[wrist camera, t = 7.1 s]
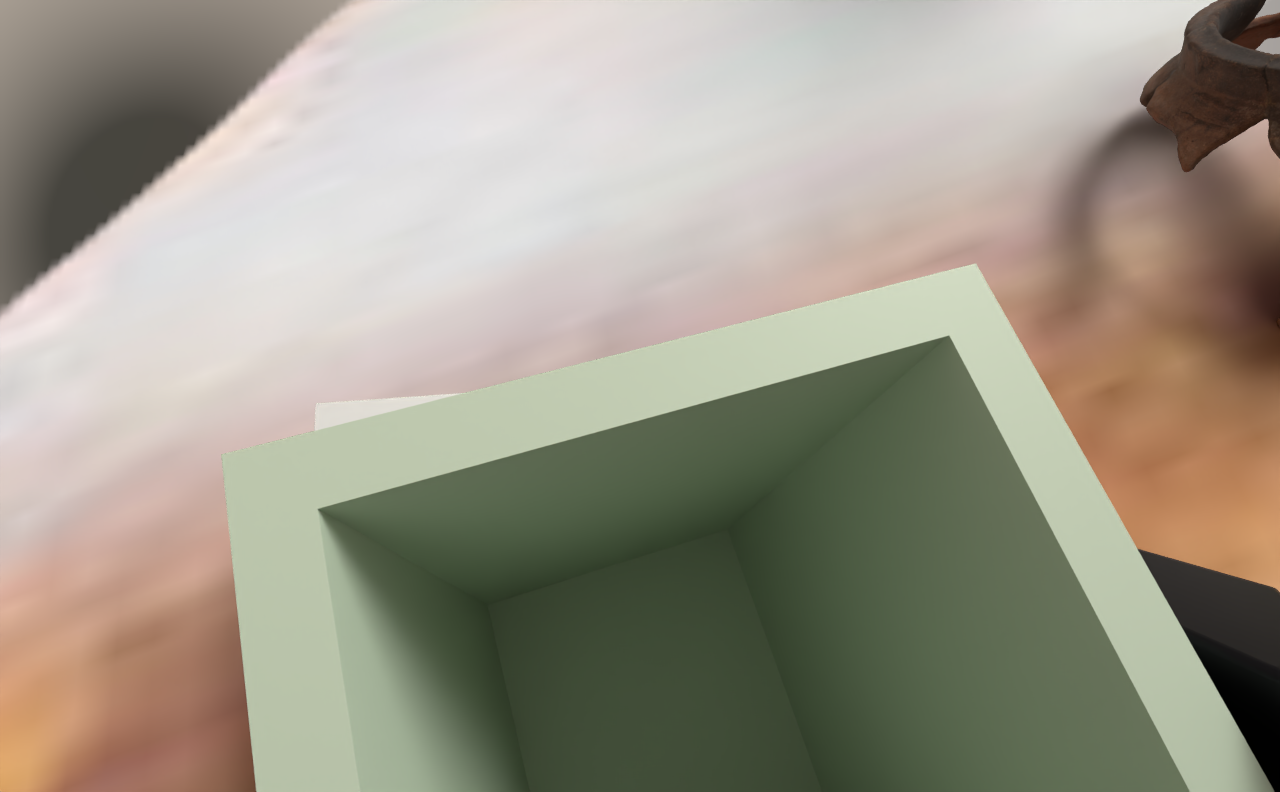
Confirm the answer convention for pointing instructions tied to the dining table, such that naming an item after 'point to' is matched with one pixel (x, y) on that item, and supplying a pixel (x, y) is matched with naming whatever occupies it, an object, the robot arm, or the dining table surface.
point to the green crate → (720, 579)
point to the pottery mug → (1219, 81)
